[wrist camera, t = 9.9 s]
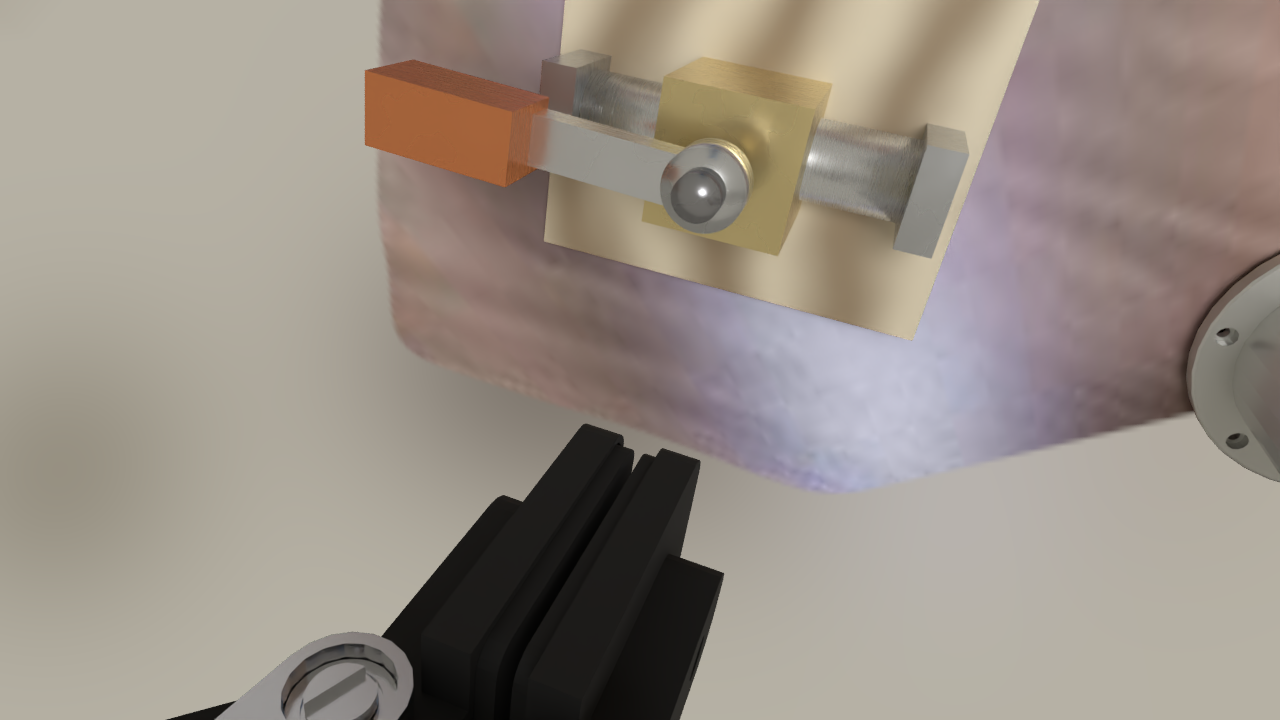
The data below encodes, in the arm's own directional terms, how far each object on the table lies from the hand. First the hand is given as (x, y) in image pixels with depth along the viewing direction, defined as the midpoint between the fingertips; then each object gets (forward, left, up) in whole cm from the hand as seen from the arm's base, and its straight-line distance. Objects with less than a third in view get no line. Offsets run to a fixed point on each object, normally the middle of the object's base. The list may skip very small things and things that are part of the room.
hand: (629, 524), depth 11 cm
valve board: (+4, +1, -31) cm, 31 cm away
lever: (+9, +1, -21) cm, 23 cm away
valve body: (+4, +1, -29) cm, 29 cm away
